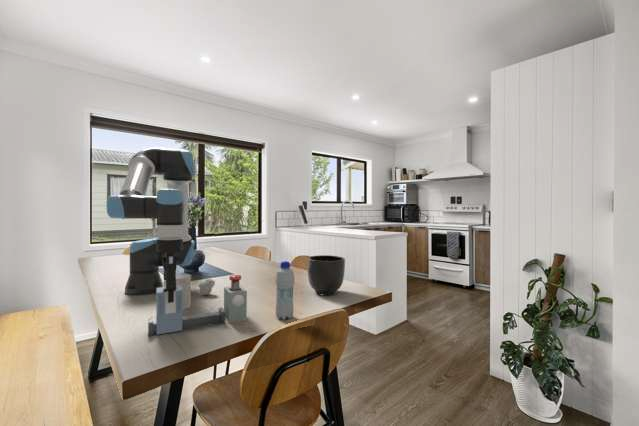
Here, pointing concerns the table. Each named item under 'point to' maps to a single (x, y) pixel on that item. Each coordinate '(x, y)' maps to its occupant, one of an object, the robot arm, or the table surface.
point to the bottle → (284, 291)
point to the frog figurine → (206, 286)
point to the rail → (193, 321)
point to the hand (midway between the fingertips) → (169, 306)
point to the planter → (326, 273)
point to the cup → (185, 288)
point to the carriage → (170, 320)
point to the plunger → (235, 282)
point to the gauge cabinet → (235, 304)
